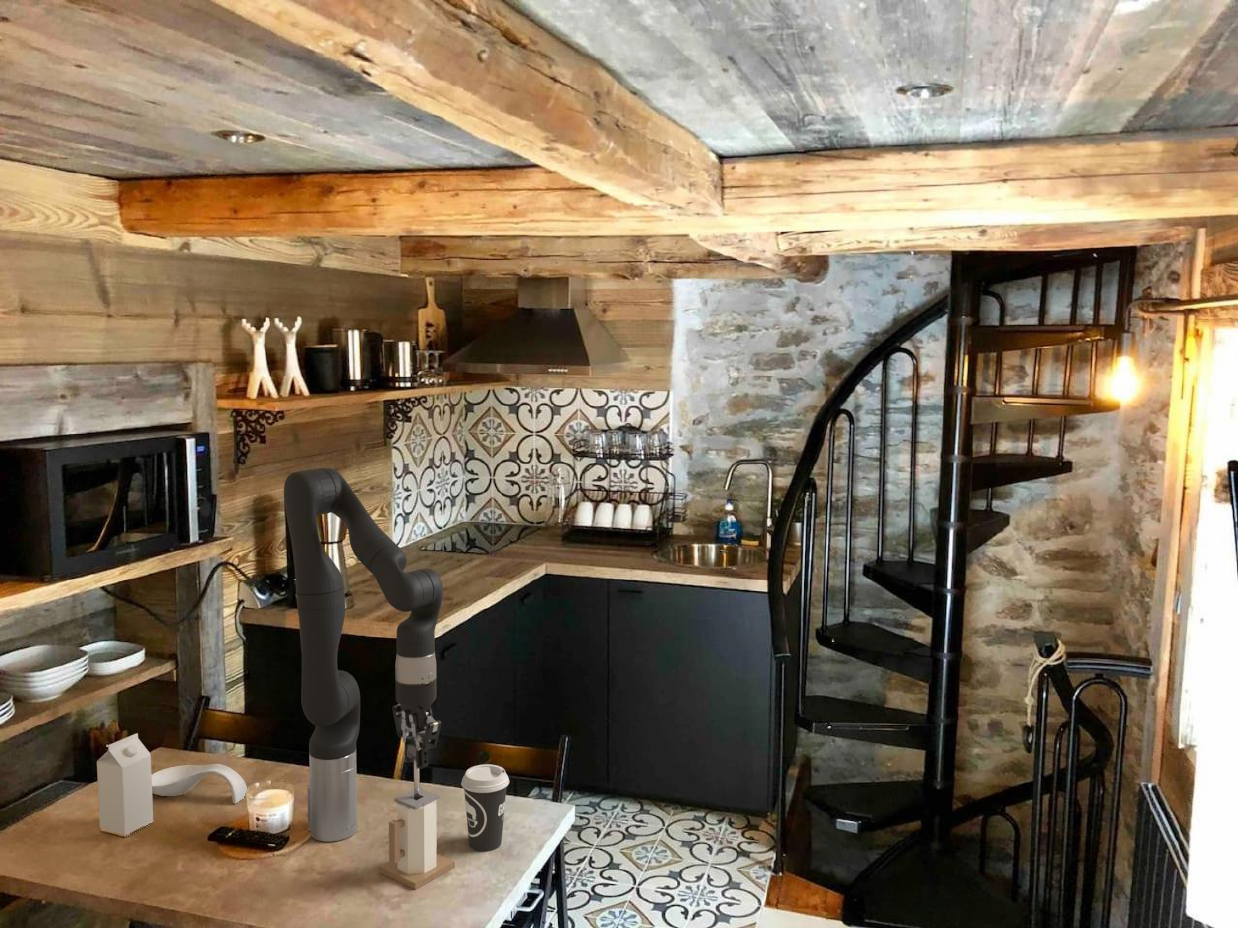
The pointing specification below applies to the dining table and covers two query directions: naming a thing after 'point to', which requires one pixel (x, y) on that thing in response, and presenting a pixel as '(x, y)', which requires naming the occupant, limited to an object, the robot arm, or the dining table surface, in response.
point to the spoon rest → (195, 779)
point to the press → (415, 842)
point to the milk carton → (125, 786)
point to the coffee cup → (485, 805)
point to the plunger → (412, 754)
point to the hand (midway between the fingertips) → (416, 763)
